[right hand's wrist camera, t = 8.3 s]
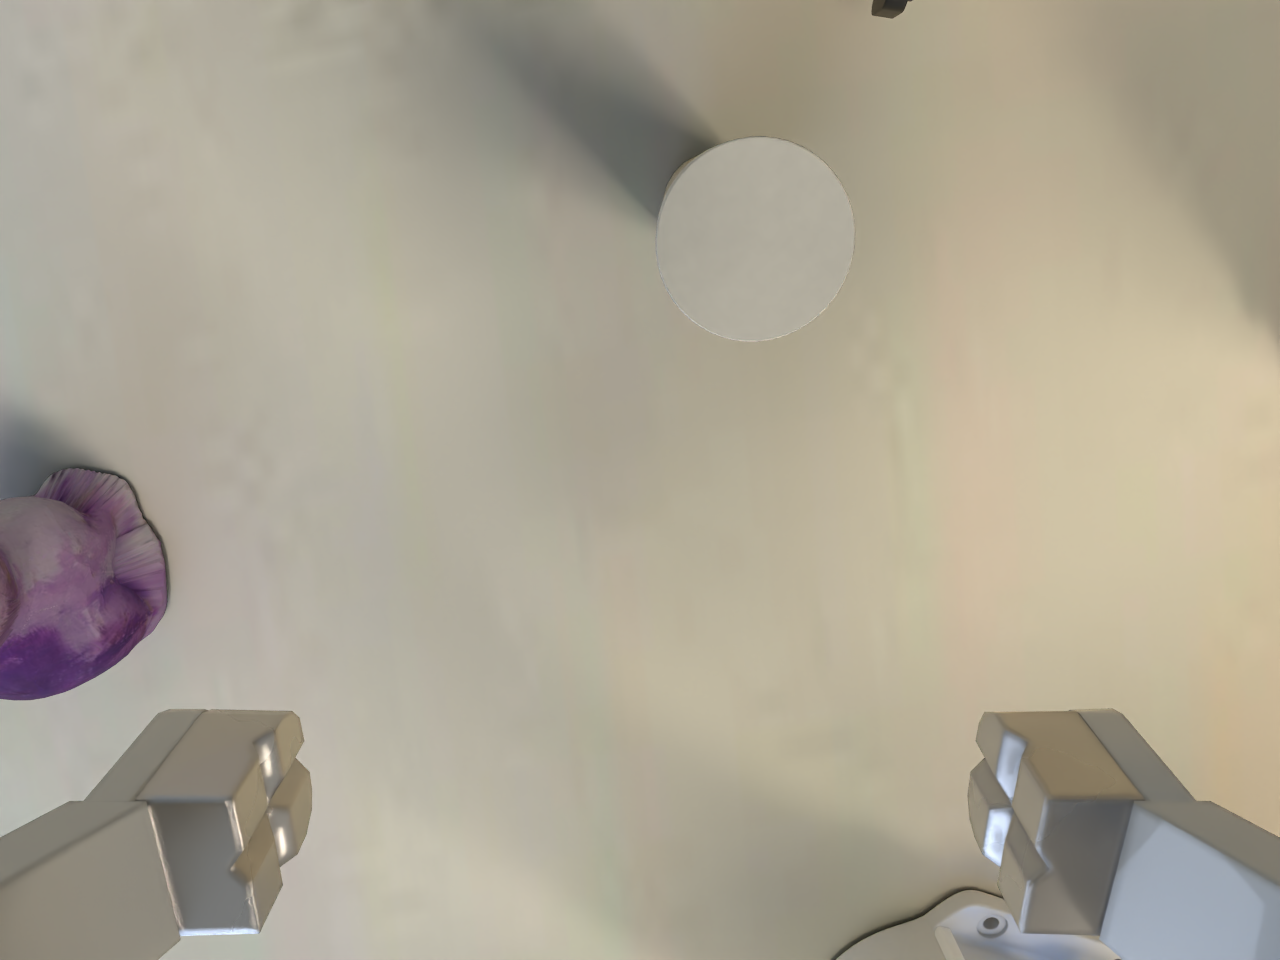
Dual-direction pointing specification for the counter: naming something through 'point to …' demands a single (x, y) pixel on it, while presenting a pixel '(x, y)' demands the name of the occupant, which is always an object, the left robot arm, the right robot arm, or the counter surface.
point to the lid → (755, 238)
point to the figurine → (74, 582)
